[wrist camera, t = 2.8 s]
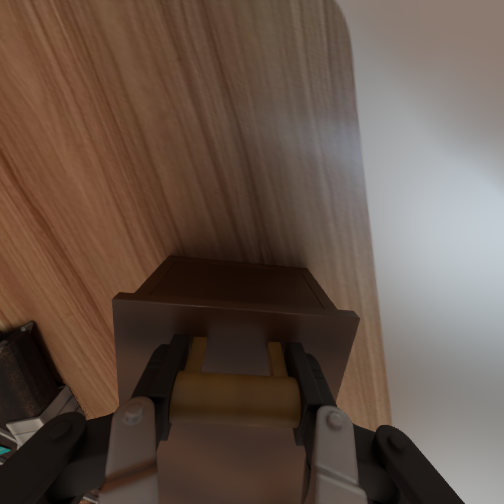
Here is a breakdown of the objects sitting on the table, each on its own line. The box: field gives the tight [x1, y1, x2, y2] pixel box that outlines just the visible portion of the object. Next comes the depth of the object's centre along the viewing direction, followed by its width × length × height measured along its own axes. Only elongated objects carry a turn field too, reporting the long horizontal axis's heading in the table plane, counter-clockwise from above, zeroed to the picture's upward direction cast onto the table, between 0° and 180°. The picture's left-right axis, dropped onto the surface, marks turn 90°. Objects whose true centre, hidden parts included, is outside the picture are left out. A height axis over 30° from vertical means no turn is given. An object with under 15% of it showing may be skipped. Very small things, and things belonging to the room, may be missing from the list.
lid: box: [112, 292, 360, 504], centre depth 13 cm, size 17×13×5 cm
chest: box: [135, 256, 338, 310], centre depth 20 cm, size 16×13×9 cm
